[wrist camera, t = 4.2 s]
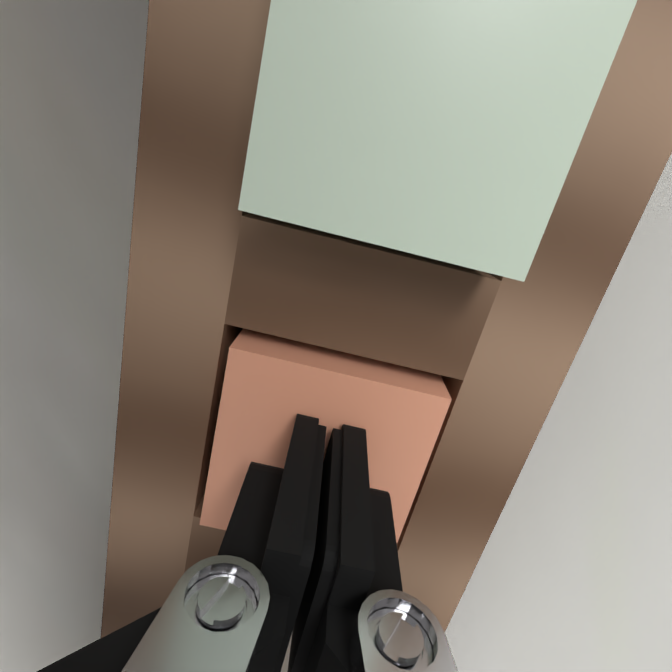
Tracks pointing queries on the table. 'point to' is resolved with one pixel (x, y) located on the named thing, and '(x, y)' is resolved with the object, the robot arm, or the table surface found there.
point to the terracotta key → (320, 416)
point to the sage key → (427, 120)
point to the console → (345, 303)
